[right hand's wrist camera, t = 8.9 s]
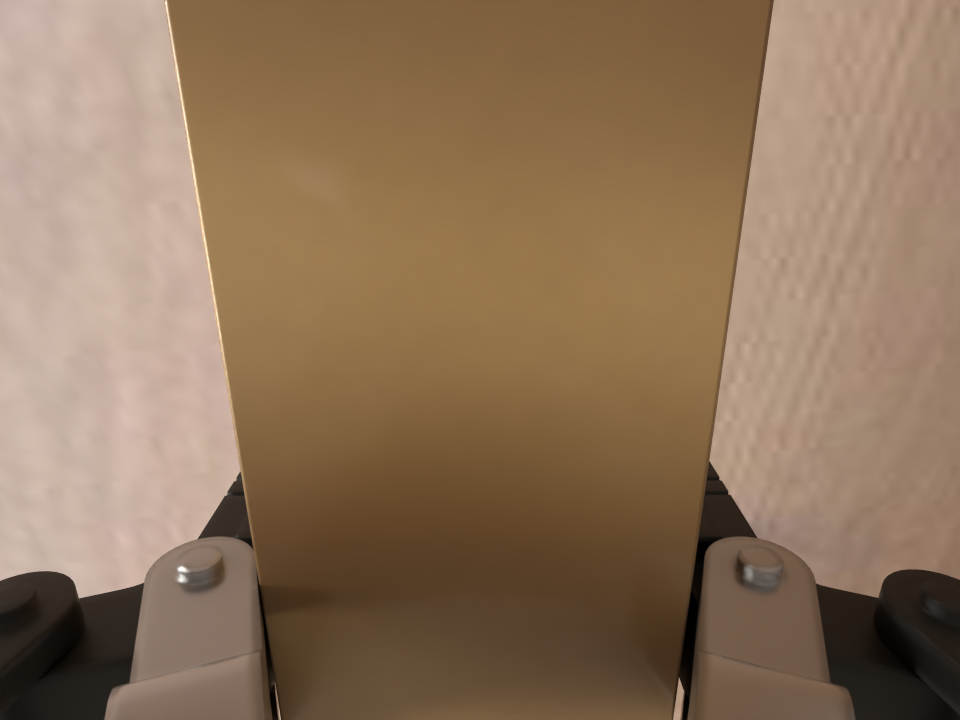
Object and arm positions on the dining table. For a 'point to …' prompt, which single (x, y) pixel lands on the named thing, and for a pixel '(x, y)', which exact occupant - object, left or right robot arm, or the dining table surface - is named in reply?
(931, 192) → the dining table surface
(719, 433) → the dining table surface
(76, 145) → the dining table surface
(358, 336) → the post
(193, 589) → the right robot arm
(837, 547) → the dining table surface
